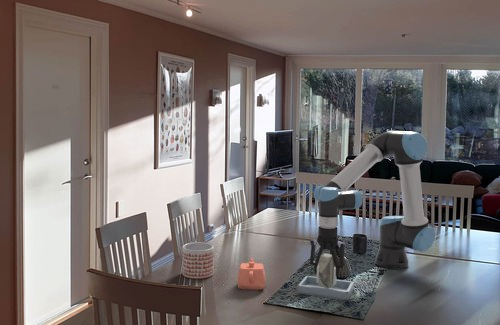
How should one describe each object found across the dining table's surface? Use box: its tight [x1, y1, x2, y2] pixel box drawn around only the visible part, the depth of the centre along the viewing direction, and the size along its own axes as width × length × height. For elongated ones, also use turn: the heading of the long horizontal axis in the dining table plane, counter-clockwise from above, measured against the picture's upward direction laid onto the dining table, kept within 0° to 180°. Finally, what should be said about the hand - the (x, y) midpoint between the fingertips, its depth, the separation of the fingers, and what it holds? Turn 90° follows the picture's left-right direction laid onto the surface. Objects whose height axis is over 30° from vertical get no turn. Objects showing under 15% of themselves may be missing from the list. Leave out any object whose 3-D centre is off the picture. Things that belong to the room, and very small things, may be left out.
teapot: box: [237, 257, 266, 291], centre depth 210 cm, size 12×18×10 cm, turn 178°
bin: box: [297, 275, 355, 301], centre depth 205 cm, size 13×20×3 cm, turn 69°
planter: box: [181, 241, 215, 280], centre depth 224 cm, size 14×14×13 cm
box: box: [318, 252, 335, 289], centre depth 204 cm, size 5×4×13 cm
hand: (326, 282), depth 205 cm, fingers closed on box, 6 cm apart
